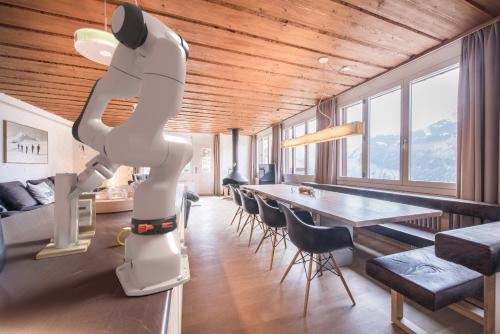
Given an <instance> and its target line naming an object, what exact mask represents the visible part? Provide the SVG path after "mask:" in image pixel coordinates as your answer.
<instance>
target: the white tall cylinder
mask: <svg viewBox="0 0 500 334" xmlns="http://www.w3.org/2000/svg"><path fill="white" fill-rule="evenodd" d="M77 175H78V173H77V172H76V173H75V172H74V173H69V172H64V173H63V172H62V173H61V172H60V173H57V172H56V173H55V175H54V188H53V189H54V193H53V194H54V197H53V199H54V200H53V203H54V204H53V206H54V208H53V237H54V242H53V243H54V248H55V249H63V248H69V247H72V246H75V245H77V244H78V243H79V240H80V239H79V196H77V197H76V198H74V199H73V200H72V201H69V200H68V199H66V196H68V195H69V194H71V193H72V192H73V191H74V190H75V189H76V188H77V186H75V184H76V183H77V181H78V180H79V176H77Z"/></svg>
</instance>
